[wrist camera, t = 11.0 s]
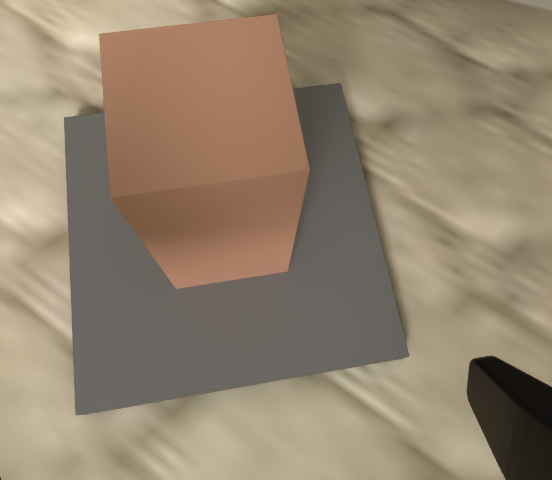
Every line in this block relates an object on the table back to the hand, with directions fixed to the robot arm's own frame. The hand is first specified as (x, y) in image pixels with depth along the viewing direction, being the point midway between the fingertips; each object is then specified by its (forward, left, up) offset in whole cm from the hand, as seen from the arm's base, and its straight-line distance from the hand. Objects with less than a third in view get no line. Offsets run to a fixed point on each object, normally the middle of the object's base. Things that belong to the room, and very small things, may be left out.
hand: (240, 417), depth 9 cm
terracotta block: (+7, +4, -11) cm, 14 cm away
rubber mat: (+7, +4, -12) cm, 15 cm away
